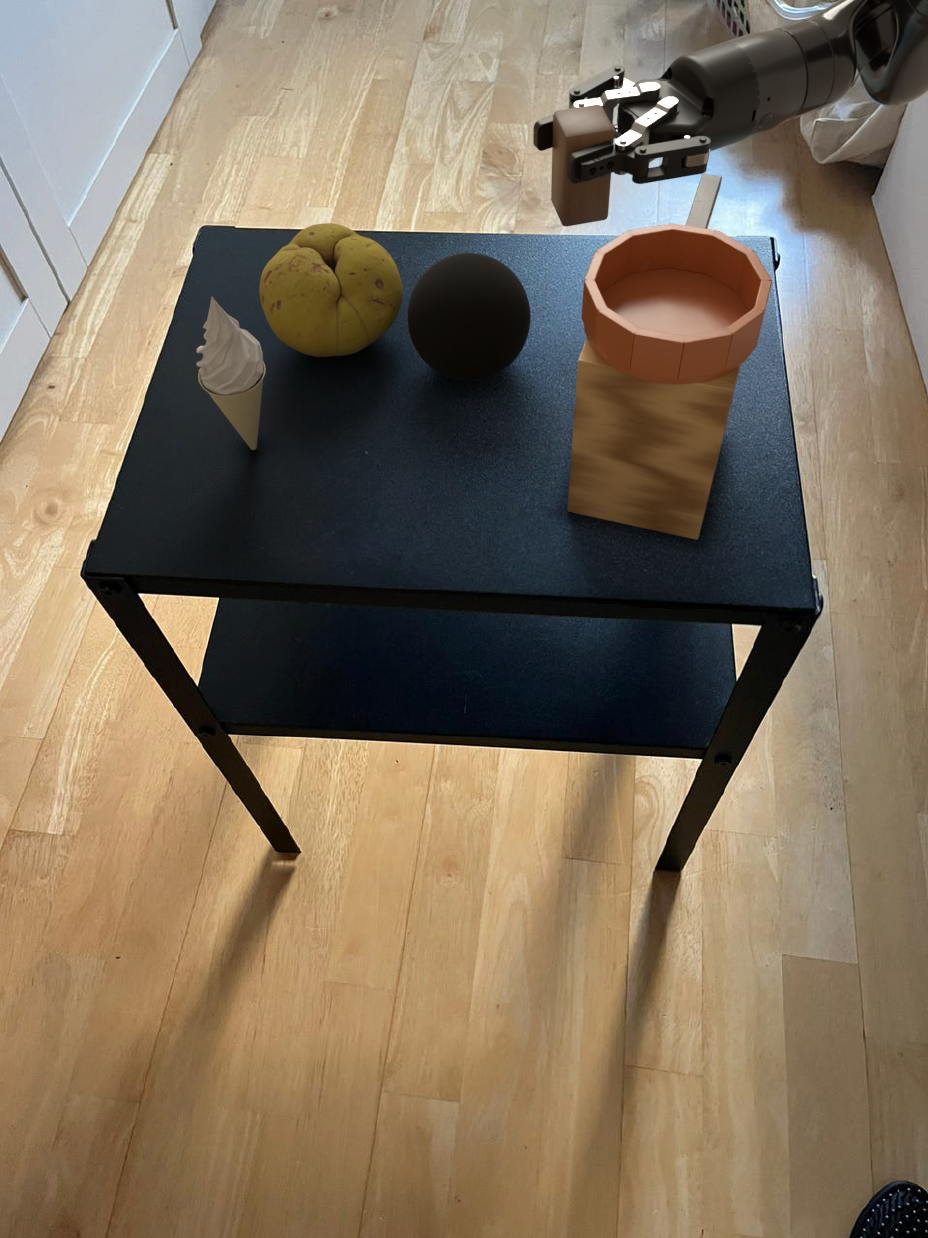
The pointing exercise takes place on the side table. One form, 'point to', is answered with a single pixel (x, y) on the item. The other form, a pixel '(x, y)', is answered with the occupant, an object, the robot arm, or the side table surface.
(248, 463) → the side table surface
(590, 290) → the pan
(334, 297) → the fruit
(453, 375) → the decorative ball
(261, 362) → the ice cream cone
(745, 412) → the side table surface
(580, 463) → the stand
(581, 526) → the side table surface
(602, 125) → the wooden block
